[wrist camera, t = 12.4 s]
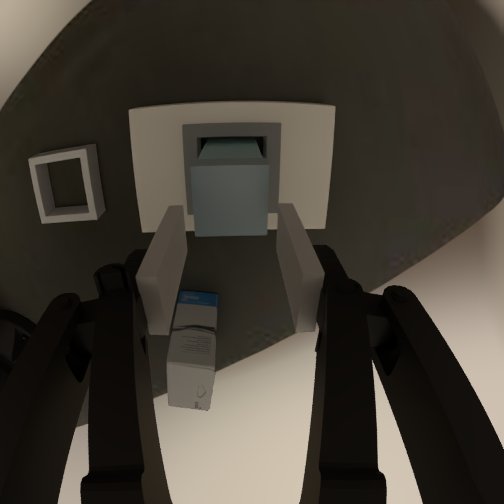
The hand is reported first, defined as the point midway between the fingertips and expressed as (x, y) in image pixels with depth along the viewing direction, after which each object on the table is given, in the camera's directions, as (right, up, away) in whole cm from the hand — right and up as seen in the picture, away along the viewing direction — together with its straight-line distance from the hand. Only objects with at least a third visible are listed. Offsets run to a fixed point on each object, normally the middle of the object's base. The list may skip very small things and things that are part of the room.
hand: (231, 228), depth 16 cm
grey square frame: (-19, +7, +13) cm, 24 cm away
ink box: (-6, -10, +24) cm, 26 cm away
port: (-1, +8, +14) cm, 16 cm away
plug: (-1, +8, +14) cm, 16 cm away
